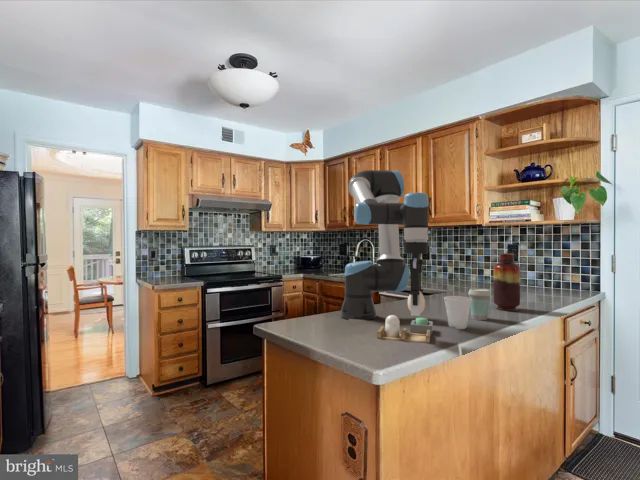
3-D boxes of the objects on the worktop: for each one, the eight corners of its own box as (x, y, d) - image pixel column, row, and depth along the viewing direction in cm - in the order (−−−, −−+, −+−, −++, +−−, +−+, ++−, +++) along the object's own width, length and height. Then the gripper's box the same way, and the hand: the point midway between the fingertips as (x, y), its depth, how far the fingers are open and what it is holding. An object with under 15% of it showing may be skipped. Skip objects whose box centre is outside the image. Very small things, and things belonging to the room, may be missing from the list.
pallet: (377, 341, 114) (377, 331, 114) (381, 334, 122) (381, 325, 122) (429, 346, 109) (429, 336, 109) (430, 338, 117) (430, 329, 117)
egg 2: (408, 315, 112) (408, 290, 112) (406, 312, 117) (406, 288, 117) (426, 316, 111) (426, 291, 111) (424, 313, 116) (424, 288, 116)
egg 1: (384, 337, 115) (384, 315, 115) (386, 333, 120) (386, 313, 120) (398, 338, 114) (398, 316, 114) (400, 334, 118) (400, 314, 118)
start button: (415, 332, 121) (415, 319, 121) (416, 330, 125) (416, 317, 125) (427, 334, 120) (427, 320, 120) (428, 331, 123) (428, 318, 123)
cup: (471, 325, 135) (471, 296, 135) (473, 332, 126) (473, 301, 126) (443, 323, 138) (443, 295, 138) (443, 329, 129) (443, 299, 129)
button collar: (410, 336, 120) (410, 324, 120) (412, 331, 127) (412, 319, 127) (432, 338, 118) (432, 326, 118) (432, 332, 124) (432, 321, 124)
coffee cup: (486, 316, 151) (486, 288, 151) (494, 321, 142) (494, 291, 142) (465, 316, 152) (465, 288, 152) (471, 320, 143) (471, 291, 143)
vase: (498, 306, 175) (498, 253, 175) (523, 309, 167) (523, 253, 167) (490, 309, 167) (490, 253, 167) (516, 312, 159) (516, 254, 159)
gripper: (426, 241, 104) (427, 320, 104) (429, 241, 122) (429, 309, 121) (400, 241, 107) (400, 318, 107) (407, 241, 124) (407, 307, 124)
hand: (416, 313), depth 114 cm, fingers closed on egg 2, 5 cm apart
